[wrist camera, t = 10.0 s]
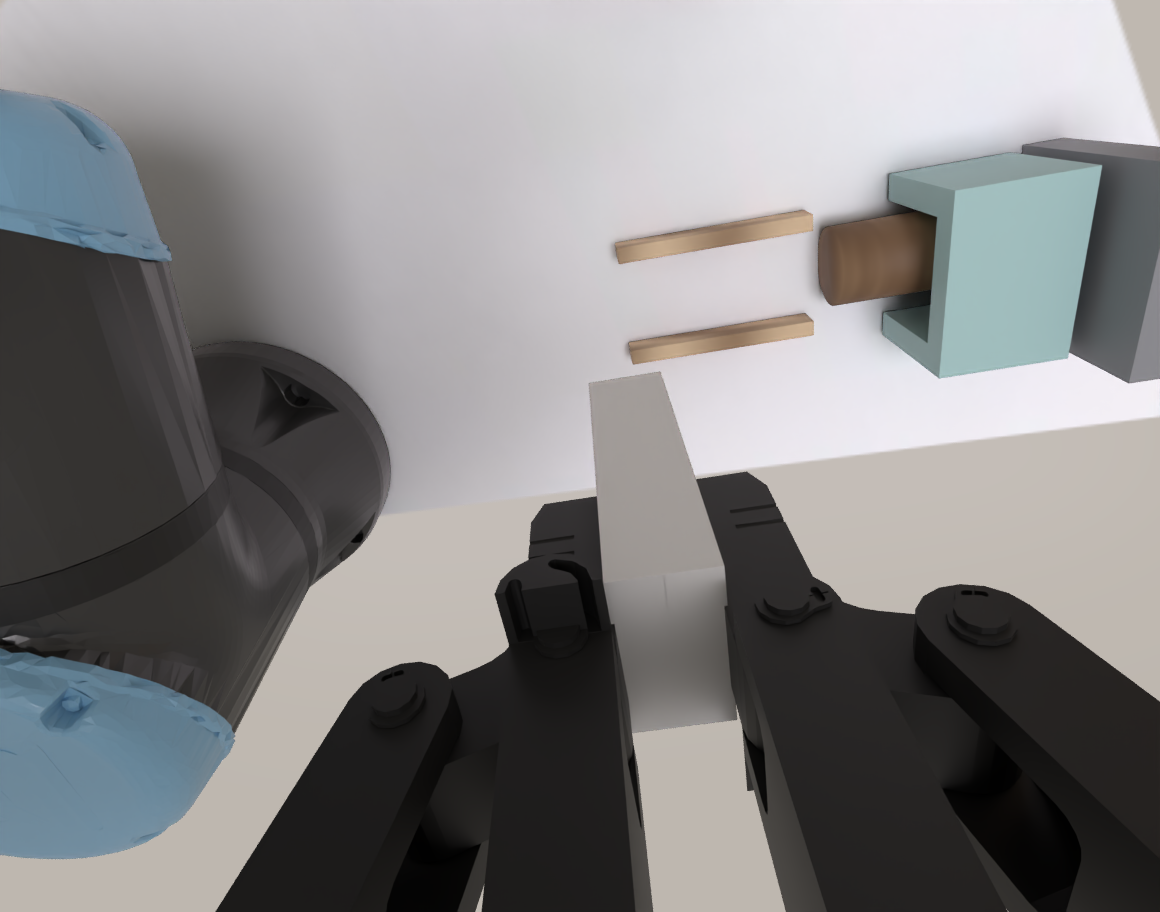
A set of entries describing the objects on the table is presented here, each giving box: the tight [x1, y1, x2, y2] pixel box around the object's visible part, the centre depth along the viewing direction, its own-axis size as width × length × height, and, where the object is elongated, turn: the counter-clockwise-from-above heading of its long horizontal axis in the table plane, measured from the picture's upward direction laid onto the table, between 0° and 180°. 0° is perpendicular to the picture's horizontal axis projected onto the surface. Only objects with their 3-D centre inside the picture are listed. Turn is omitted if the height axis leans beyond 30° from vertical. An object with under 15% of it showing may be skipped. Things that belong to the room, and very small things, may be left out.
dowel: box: [818, 211, 937, 306], centre depth 35 cm, size 8×4×4 cm, turn 99°
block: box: [883, 152, 1102, 378], centre depth 34 cm, size 6×9×7 cm
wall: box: [1022, 138, 1160, 383], centre depth 32 cm, size 2×9×10 cm, turn 9°
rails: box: [615, 210, 814, 364], centre depth 37 cm, size 10×6×2 cm, turn 100°
